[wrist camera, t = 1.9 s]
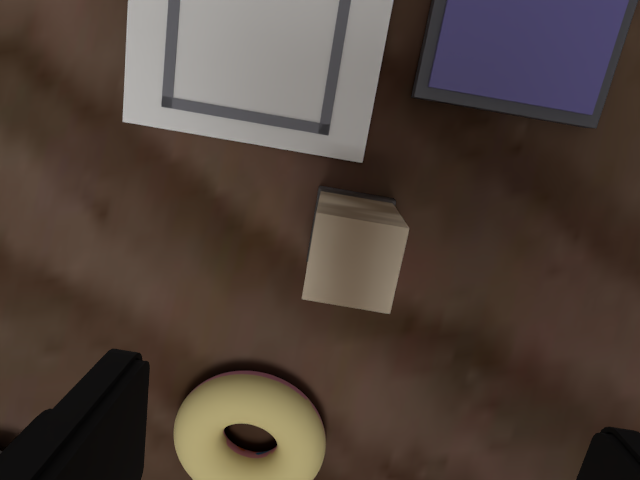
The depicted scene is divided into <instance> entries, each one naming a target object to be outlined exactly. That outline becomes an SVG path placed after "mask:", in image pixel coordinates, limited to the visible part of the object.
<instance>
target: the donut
mask: <svg viewBox="0 0 640 480" xmlns="http://www.w3.org/2000/svg"><path fill="white" fill-rule="evenodd" d="M238 423H244V424H251V425H255V426H258V427H260V428H262V429H264V430H266V431H267V432H268V433H270V434H271V435H272V436H273V437H274V438H275V440H276V442H277V446H276V447H275V448H273V449H271V450H269V451H264V452H254V451H249V450H245V449H243V448H240V447H238V446H237V445H235V444H234V443H232V442H231V441H230V440H229V439H228V438H227V436H226V435H225V432H224V428H225V427H227V426H229V425H232V424H238ZM174 443H175V448H176V452H177V455H178V457H179V460H180V462H181V464H182V466H183V467H184V469H185V470H186V472H187V473H188V474H189V475H190V476H191V478H192V479H193V480H313V479H314V478H315V476H316V475H317V473H318V472H319V470H320V468H321V465H322V463H323V459H324V456H325V450H326V436H325V430H324V426H323V423H322V420H321V417H320V415H319V413H318V411H317V410H316V408H315V406H314V405H313V404H312V402H311V401H310V400H309V399H308V398H307V397H306V396H305V395H304V394H303V393H302V392H301V391H300V390H299V389H298V388H296V387H295V386H293V385H292V384H290V383H289V382H287V381H285V380H283V379H281V378H279V377H276V376H273V375H270V374H267V373H263V372H257V371H232V372H227V373H223V374H219V375H216V376H214V377H212V378H210V379H208V380H206V381H204V382H203V383H201V384H200V385H198V386H197V387H196V388H195V389H194V390H192V391H191V392H190V394H189V395H188V396H187V397H186V399H185V400H184V401H183V403H182V405H181V406H180V409H179V411H178V413H177V416H176V420H175V425H174Z"/></svg>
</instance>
